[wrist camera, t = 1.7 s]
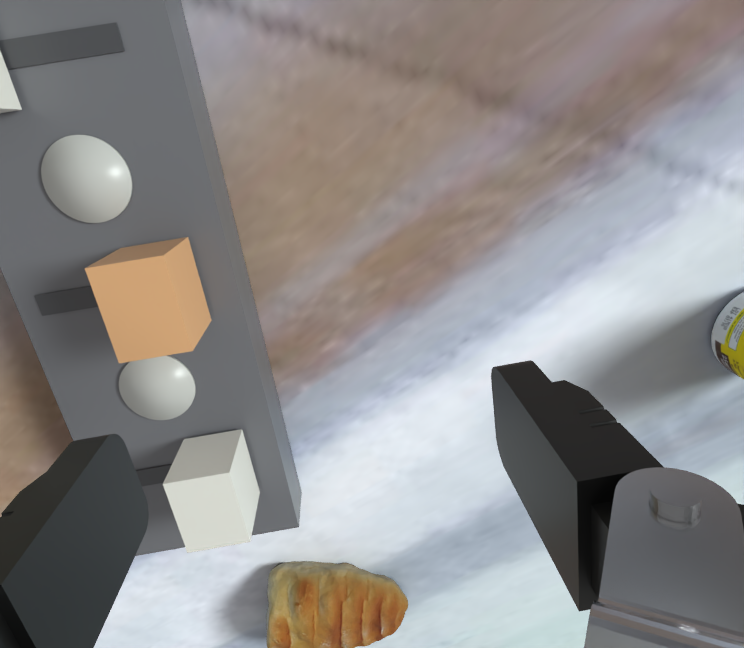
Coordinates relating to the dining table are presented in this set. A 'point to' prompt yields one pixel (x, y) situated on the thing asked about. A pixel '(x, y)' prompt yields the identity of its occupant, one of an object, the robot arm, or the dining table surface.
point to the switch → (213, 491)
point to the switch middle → (150, 299)
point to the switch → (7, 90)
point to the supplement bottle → (730, 336)
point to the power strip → (130, 240)
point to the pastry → (330, 606)
